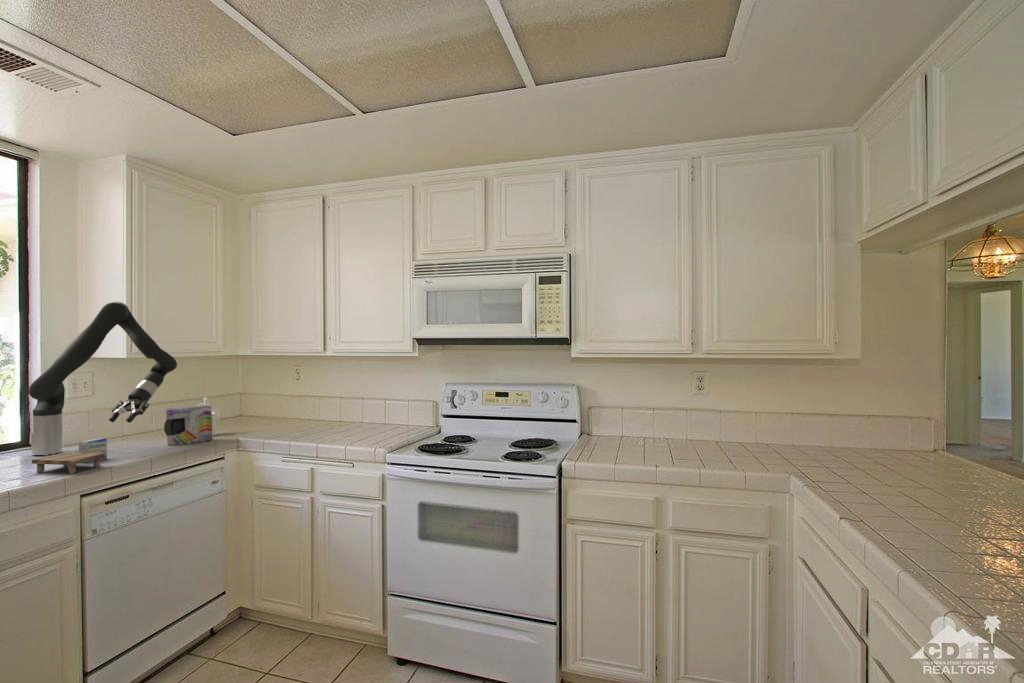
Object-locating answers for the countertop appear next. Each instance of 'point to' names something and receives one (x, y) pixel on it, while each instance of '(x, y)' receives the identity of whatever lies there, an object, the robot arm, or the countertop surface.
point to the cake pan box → (188, 424)
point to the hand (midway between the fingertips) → (119, 421)
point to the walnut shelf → (68, 460)
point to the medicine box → (94, 446)
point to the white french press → (206, 402)
